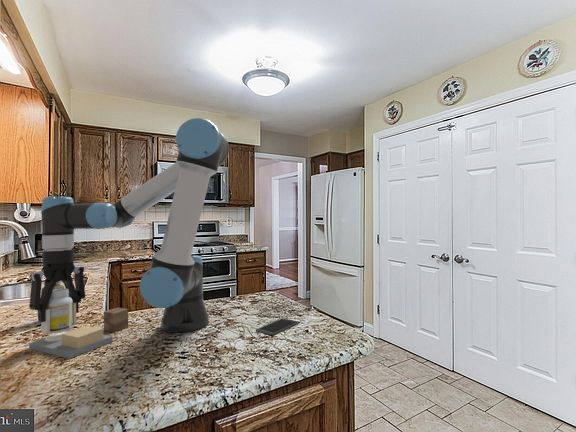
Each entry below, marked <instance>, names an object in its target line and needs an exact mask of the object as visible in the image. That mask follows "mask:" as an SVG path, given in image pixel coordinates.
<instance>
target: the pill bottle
mask: <svg viewBox="0 0 576 432" xmlns="http://www.w3.org/2000/svg"><path fill="white" fill-rule="evenodd" d="M68 294H69V289H66V288H65V287H64V289H55V290H53V291H52V294H51V297H50V300H49V303H48V306H47V309H50V333H49V334H57V333H62V332H65V331H68V330H71V329H73V326H74V325H73V301H72V298H71V297H69V295H68Z"/></svg>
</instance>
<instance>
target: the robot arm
mask: <svg viewBox="0 0 576 432" xmlns="http://www.w3.org/2000/svg"><path fill="white" fill-rule="evenodd" d="M175 142H176V147H177V148H178V153H177V155H176V156H177V157H176V160H175V162H174V163H173V164H172V165H169V167H167V168H166V169H163V170H162V171H160V173H158V174H157V175H154V176H153V177H152V178H150V179H149V180H147V181H145V182H144V183H143V184H141V185H140V186H138V187H137V188H135V189H133V190H132V191H131V192H129V193H128V194H126V195H124V196H123V197H122V198H120V199H119V200H117V201H115V202H114V203H108V202H89V203H88V202H87V203H84V202H83V203H76V202H74V198H72V197H71V196H45V197H44V198H43V199H42V200H41V202H42V203H41V211H40V214H41V226H42V227H41V228H42V231H41V232H42V234H41V235H42V236H41V242H42V243H41V244H42V245H41V246H42V247H41V249H43V250H44V251H42V252H41V255H42V256H41V257H42V258H41V260H42V262H41V264H42V267H41V271H37V272H35V273H34V272H32V273H30V274H29V278H30V280H31V286H30V294H29V295H30V296H29V309H30V310H35V311H37V321H38V322H39V323H41V325H40V327H41V328H40V329H41V333H43V334H51V333H50V309H47V306H48V303H49V300H50V297H51V294H52V291H53V288H54V286H55V285H56V283H57V282H59V281H61V283H63V286H64V289H65V288H66V289H69V294H68V297H71V298H72V301H73V326H76V325H77V313H79V309H80V306H79V305H80V304H79V303H81V301H82V300H83V299H85V298H86V289H85V281H84V280H85V279H84V271H85V267H84V266H75V263H74V261H75V250H74V249H73V248H74V247H75V237H74V235H75V233H74V232H75V230H78V229H84V230H85V229H86V230H87V229H89V230H91V229H92V230H93V229H95V230H101V229H102V230H105V229H110V228H118V229H121V228H124V227H127V226H128V227H129V226H130V225H132V223H134V220H135V218H137V217H138V216H140V215H141V214H142V213H144V212H146V211H147V210H149V209H150V208H151V207H153V206H155V205H156V204H158V203H159V202H161V201H163V200H164V199H165V198H167V197H169V196H170V195H172V194H173V198H172V202H171V205H170V209H169V213H168V218H167V223H166V225H165V229H164V230H165V231H164V234H163V238H162V243H161V245H160V246H161V247H160V250H159V251H157V252H156V253H154V254H153V256H152V260H151V264H150V267H149V269H148V270H147V271H145V273H144V274H143V275H142V277H141V279H140V282H139V291H140V295H141V297H143V299H144V301H145V303H147V304H148V305H150V306H152V307H153V308H156V309H164V311H163V314H162V315H163V316H162V318H161V320H160V329H161V330H162V331H164V332H166V333H186V332H192V331H197V330H199V329H202V328H204V327H206V326H207V325H208V324H209V323H210V320H209V319H210V317H209V313H208V312H207V308H206V305H205V301H204V290H203V289H204V287H203V286H204V285H203V283H204V282H203V278H204V277H203V275H204V274H203V267H204V264H203V259H202V257H201V256H200V255H192V253H193V248H194V244H195V241H196V237H197V233H198V232H197V231H198V228H199V223H200V220H201V216H202V212H203V208H204V205H205V198H206V195H207V192H208V187H209V184H210V179H211V177H213V176H214V175H216V174H218V173H217V172H218V168H219V167H221V166H222V165H223V164H224V163H225V162H226V160H227V159H228V157H229V154H230V146H229V145H230V144H229V141H228V139H227V138H226V137H225V136H224V134H222V132H221V131H220V129H219V127H218V126H217V124H215V123H213V122H211V120H209V119H205V118H202V117H193V118H190V119H188V120H186V121H184V122H183V123H182V124H181V125H180V126H179V127H178V129H177V131H176V136H175ZM72 273H73V274H74V276H73V277H74V279H73V277H72ZM44 277H45V280H44V286H43V287H44V288H43V287H42V285H43V283H42V279H43V278H44ZM73 281H74V282H73ZM42 288H43V291H42V294H41V290H42Z"/></svg>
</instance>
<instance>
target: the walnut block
mask: <svg viewBox="0 0 576 432" xmlns="http://www.w3.org/2000/svg"><path fill="white" fill-rule="evenodd" d="M124 328H125V329H127V328H129V309H128V308H124V307H116V308H112V309H109V310H104V311H103V331H106V332H111V333H116V332H119V331H122V330H124Z"/></svg>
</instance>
